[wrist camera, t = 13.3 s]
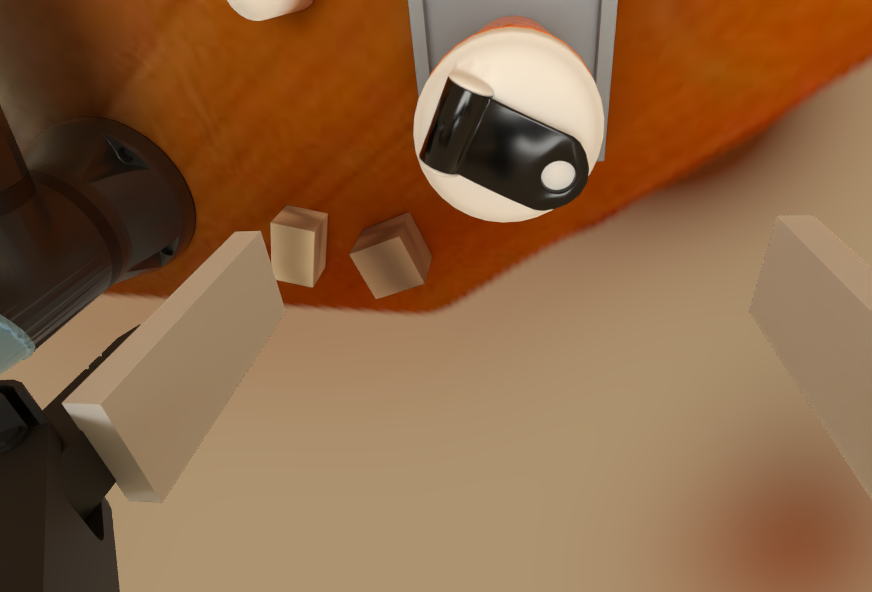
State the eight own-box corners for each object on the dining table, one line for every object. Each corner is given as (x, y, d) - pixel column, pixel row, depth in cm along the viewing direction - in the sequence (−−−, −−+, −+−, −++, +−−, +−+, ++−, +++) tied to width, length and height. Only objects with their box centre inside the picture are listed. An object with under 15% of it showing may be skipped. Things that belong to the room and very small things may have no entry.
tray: (430, 159, 44) (426, 169, 42) (410, -34, 36) (404, -33, 34) (599, 150, 42) (603, 161, 40) (616, -58, 34) (622, -58, 32)
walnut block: (387, 271, 51) (376, 299, 47) (363, 229, 49) (349, 254, 45) (432, 256, 49) (424, 283, 45) (409, 211, 47) (399, 236, 43)
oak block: (287, 258, 52) (271, 278, 48) (287, 204, 48) (270, 222, 45) (325, 266, 52) (312, 287, 48) (328, 213, 48) (314, 232, 45)
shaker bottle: (548, 141, 41) (568, 268, 24) (440, 113, 41) (387, 221, 24) (590, 17, 36) (653, 71, 19) (467, -15, 36) (423, 12, 19)
